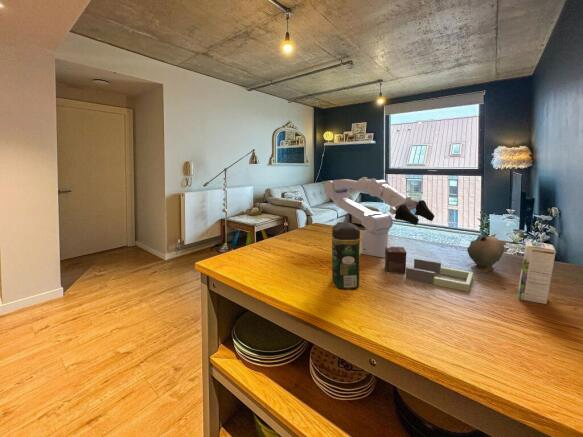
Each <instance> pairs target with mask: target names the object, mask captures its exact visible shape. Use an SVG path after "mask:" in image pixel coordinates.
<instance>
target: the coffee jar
mask: <svg viewBox="0 0 583 437" xmlns="http://www.w3.org/2000/svg"><path fill="white" fill-rule="evenodd" d="M331 236H332V237H331V259H332V260H331V266H332V267H331V272H332V273H331V275H332V284H333V286H335V288H338V289H343V290H352V289H356V288H358V287H359V285H360V247H361V246H360V245H361V242H360V241H361V231H360V228H359V227H358V226H357V225H356V224H354V223H352V222H350V221H349V222H348V221H347V222H345V221H343V222H341V221H340V222H337V223H335V224H334V225H333V226H332V231H331Z"/></svg>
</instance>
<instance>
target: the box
mask: <svg viewBox="0 0 583 437" xmlns="http://www.w3.org/2000/svg"><path fill="white" fill-rule="evenodd" d="M406 267H407V250H406V249H405V247H403V246H387V247H385V257H384V268H385V272H386V273H388V274H389V273H390V274H406Z"/></svg>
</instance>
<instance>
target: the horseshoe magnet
mask: <svg viewBox="0 0 583 437" xmlns="http://www.w3.org/2000/svg"><path fill="white" fill-rule="evenodd" d="M436 274H441V275H445V276H451V277H456V278H457V277H458V278H461V279H466V280H465V282H464V281H463V282H462V281H460V280H459V281H457V280H452V279H448V278H441V277H437V276H435V275H436ZM473 276H474V272H473V271H467V270H462V269H456V268H450V267H446V266H445V267H444V266H442V262H440V261H434V260H428V259H422V258H417V257H415V258H414V259H413V267H410V266H409V267H408V266H406V273H405V279H407V280H411V281H414V282H416V281H417V282H421V283H425V284H430V285H435V286H439V287H444V288H450V289H454V290H460V291H464V292H469V291H470V289H471V285H472V281H473Z"/></svg>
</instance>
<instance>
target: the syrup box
mask: <svg viewBox="0 0 583 437" xmlns="http://www.w3.org/2000/svg"><path fill="white" fill-rule="evenodd" d="M555 257H556V248H555V246H554V245H553V244H550V243H544V242H537V241H526V242H525V245H524V252H523V257H522V264H521V269H520V277H519V282H518V290H517V295H518V299H519V300H520V301H526V302H530V303H531V302H533V303H538V304H542V305H547V303H548V298H549V293H550V286H551V281H552V277H553V276H552V275H553V270H554V263H555V259H556V258H555Z"/></svg>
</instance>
